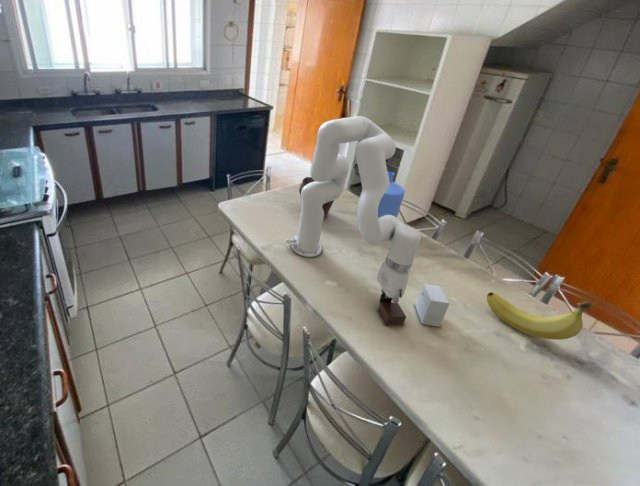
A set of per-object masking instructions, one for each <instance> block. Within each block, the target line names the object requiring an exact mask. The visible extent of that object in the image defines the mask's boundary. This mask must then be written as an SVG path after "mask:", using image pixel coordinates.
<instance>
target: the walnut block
mask: <svg viewBox="0 0 640 486" xmlns="http://www.w3.org/2000/svg"><path fill="white" fill-rule="evenodd" d="M377 312H378V314H379V316H380V318H381V320H382V322H383V323H384V326H404V324H405V322H406V319H407V315H406V313H405V312H404V310H403V309H402V307H401V305H400V304H399V302H393V301H391V302H381V303H380V302H379V306H378V308H377Z"/></svg>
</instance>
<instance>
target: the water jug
mask: <svg viewBox="0 0 640 486" xmlns="http://www.w3.org/2000/svg"><path fill="white" fill-rule="evenodd" d="M395 174H396V173H395V172H393V171H388V176H389V181H390V185H389V188H388V189H387V191H386V193H385V194H384V196H383V197H382V199H381V201H380V203H379V206H378V218H380V217H382V216H384V215H393V216H395V217H396V218H398V215H399V214H400V213H399V212H400V209H401V205H402V202H403V200H404V197H405V193H406V192H405V191H406V190H405V189H404V187H403V186H401V185H400V184H398V183H396V182H395V181H394V178H395V177H394V176H395Z"/></svg>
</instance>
